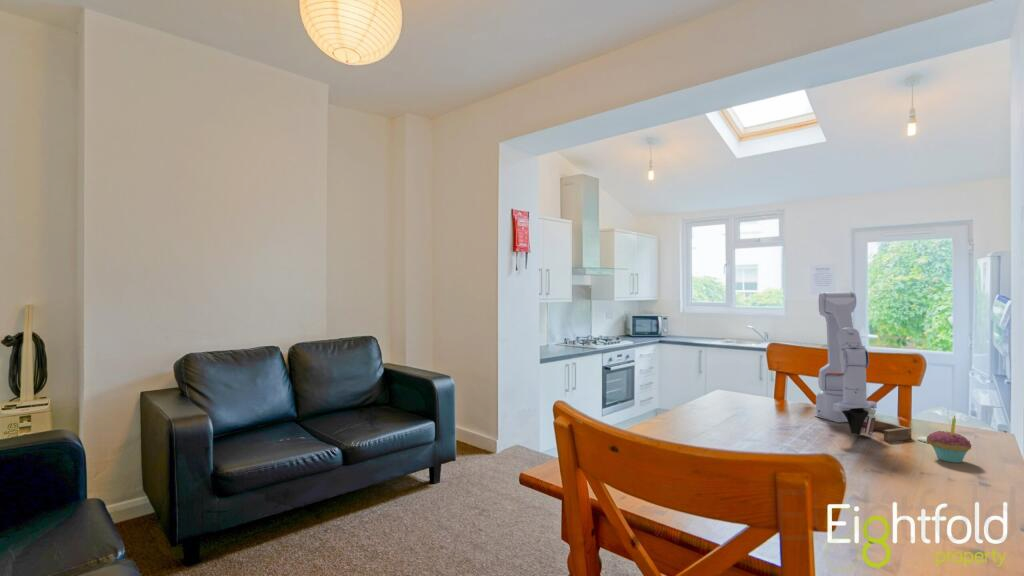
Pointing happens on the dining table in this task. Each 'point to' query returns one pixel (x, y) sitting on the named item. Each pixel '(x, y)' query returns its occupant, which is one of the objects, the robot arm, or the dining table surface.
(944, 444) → the cupcake
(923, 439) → the disc
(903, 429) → the walnut corral
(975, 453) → the dining table surface
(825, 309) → the robot arm
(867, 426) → the pill bottle
